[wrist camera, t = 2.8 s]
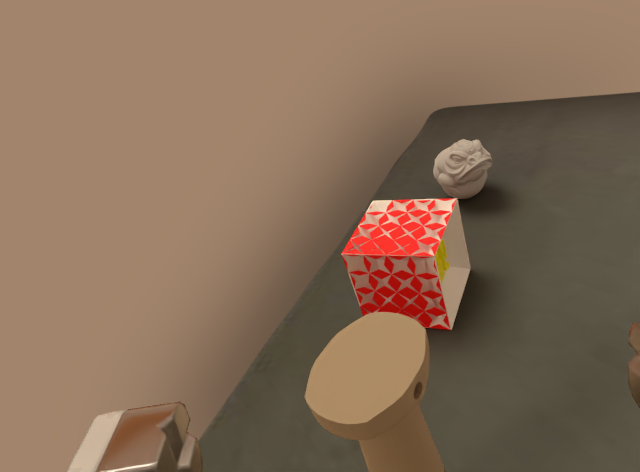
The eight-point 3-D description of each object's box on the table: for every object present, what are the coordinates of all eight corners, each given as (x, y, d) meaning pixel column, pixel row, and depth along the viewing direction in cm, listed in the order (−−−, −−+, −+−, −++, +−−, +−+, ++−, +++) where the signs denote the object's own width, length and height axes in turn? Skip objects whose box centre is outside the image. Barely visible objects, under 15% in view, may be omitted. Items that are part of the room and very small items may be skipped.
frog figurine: (466, 219, 56) (456, 162, 52) (426, 198, 61) (415, 145, 58) (510, 193, 57) (503, 136, 53) (467, 175, 63) (458, 121, 59)
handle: (368, 561, 31) (284, 400, 23) (417, 469, 35) (359, 303, 27) (443, 606, 28) (376, 440, 20) (488, 500, 32) (446, 325, 24)
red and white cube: (451, 330, 44) (434, 256, 40) (365, 322, 48) (341, 254, 44) (470, 268, 49) (457, 197, 45) (391, 265, 53) (373, 200, 49)
